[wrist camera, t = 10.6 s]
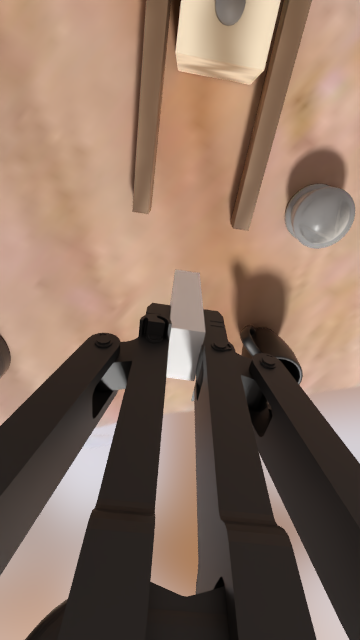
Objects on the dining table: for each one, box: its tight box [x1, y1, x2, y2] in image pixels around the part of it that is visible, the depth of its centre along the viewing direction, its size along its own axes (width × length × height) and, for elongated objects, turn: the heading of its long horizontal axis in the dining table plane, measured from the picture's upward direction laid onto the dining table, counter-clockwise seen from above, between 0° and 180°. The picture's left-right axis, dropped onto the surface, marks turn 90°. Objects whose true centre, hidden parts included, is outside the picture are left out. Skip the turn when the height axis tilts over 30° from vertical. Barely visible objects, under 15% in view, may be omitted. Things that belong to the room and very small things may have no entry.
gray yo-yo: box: [285, 184, 355, 248], centre depth 37 cm, size 7×7×4 cm
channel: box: [132, 0, 312, 231], centre depth 31 cm, size 15×24×5 cm, turn 171°
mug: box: [240, 326, 303, 384], centre depth 45 cm, size 8×12×10 cm
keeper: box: [175, 0, 281, 85], centre depth 26 cm, size 8×7×8 cm
